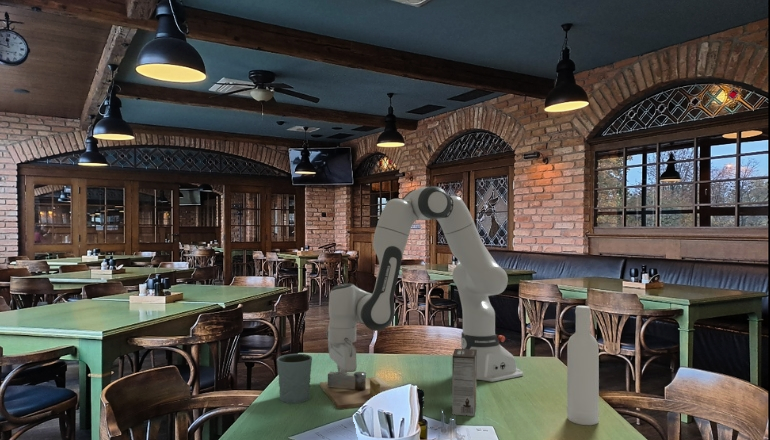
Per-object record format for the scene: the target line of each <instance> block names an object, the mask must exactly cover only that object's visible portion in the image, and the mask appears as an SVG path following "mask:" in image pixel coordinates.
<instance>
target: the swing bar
mask: <svg viewBox="0 0 770 440" xmlns="http://www.w3.org/2000/svg"><path fill="white" fill-rule="evenodd" d="M366 378H367V373H366V372H365V371H355V372H347V373H342V372H338V371H330V372H328V373H327V382H328V387H334V388H345V389H355V390H365V389H366Z"/></svg>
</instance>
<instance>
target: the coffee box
mask: <svg viewBox="0 0 770 440" xmlns="http://www.w3.org/2000/svg"><path fill="white" fill-rule="evenodd" d="M451 365H452V366H451V368H452V371H451V373H452V381H451V383H452V386H451V388H452V389H451V391H452V393H451V394H452V397H451V399H452V400H451V402H452V403H451V404H452V405H451V407H452V408H451V409H452V410H451V412H452V415H454V414H455V416H466V415H467V416H468V417H469V416H470V417H476V410H477V379H476V374H477V350H476V349H462V348H454V350H453V354H452V364H451Z"/></svg>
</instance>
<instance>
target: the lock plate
mask: <svg viewBox="0 0 770 440" xmlns="http://www.w3.org/2000/svg"><path fill="white" fill-rule="evenodd" d="M319 387H320V388H321V389H322V390H323V392H324V393H325V394H326V396H327V397H328V398H329V399H330V401H331V402H332V403H333V404H334V405H335V406H336V408H337V409H338V410H341V409H342V410H343V409H349V408H351V409H352V408H359V407H360V406H361V407H363V406H362V405H363V404H364V403H365V402H366V401H367V400H369V399H370V398H371V397H373V396H375V395H377V394H378V393H380V392H382V391H385V390H388V389H391V388H393V387H392V386H391V385H389V384H388V383H387V382H386V381H384V380H383V379H382V378H381V377H380V376H376V377H375V376H374V377H366V389H365V390H355V389H345V388H334V387H328V381H322V382H319ZM361 407H360V408H361Z"/></svg>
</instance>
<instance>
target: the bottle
mask: <svg viewBox="0 0 770 440" xmlns="http://www.w3.org/2000/svg"><path fill="white" fill-rule="evenodd" d="M574 313H575V332H574V333H573V334H572V335H571V336H570V337H569V338H568V342H567V347H566V348H567V353H566V355H567V356H566V357H567V359H566V361H567V362H566V363H567V364H566V365H567V366H566V367H567V368H566V369H567V371H566V373H567V375H566V376H567V380H566V381H567V383H566V385H567V388H566V390H567V391H566V393H567V395H566V396H567V399H566V401H567V402H566V404H567V405H566V413H567V414H566V415H567V420H569V421H570V422H571V423H574V424H577V425H583V426H594V425H597V424H598V423H599V422H600V421H599V419H600V409H599V408H600V407H599V406H600V404H599V403H600V400H599V399H600V398H599V397H600V396H599V391H600V390H599V386H600V385H599V383H600V379H599V376H600V375H599V372H600V371H599V369H600V368H599V363H600V362H599V361H600V359H599V358H600V357H599V356H600V355H599V344H598V340H597V339H596V337H594V336H593V335H592V334H591V313H592V312H591V306H588V305H576V307H575V311H574Z"/></svg>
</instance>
